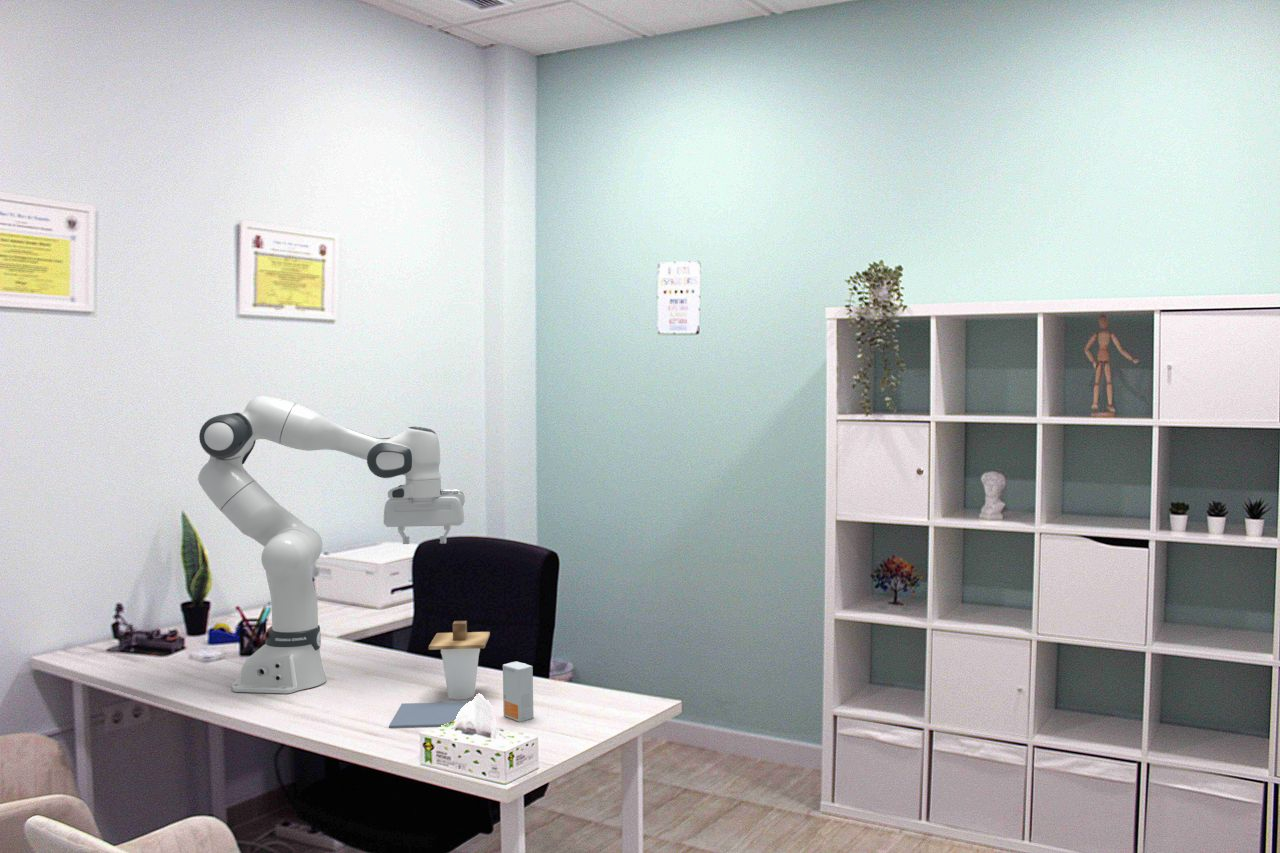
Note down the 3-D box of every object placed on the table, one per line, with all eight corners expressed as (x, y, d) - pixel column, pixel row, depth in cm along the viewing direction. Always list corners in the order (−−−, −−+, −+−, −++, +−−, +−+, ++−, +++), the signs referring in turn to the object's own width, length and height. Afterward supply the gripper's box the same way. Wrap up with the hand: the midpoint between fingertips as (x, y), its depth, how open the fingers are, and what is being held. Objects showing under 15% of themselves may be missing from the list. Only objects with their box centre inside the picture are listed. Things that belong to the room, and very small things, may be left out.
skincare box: (502, 716, 242) (501, 664, 242) (517, 712, 245) (516, 660, 245) (519, 722, 238) (518, 669, 237) (534, 718, 241) (533, 665, 240)
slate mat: (388, 727, 235) (388, 725, 235) (401, 705, 251) (401, 703, 251) (471, 725, 236) (471, 723, 236) (479, 703, 252) (479, 701, 252)
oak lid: (428, 649, 252) (428, 629, 251) (436, 636, 265) (436, 616, 264) (484, 648, 252) (484, 628, 252) (489, 634, 265) (489, 615, 265)
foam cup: (433, 698, 257) (432, 644, 256) (457, 687, 265) (456, 635, 265) (465, 703, 253) (464, 648, 252) (488, 692, 261) (487, 639, 260)
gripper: (465, 487, 279) (466, 540, 279) (386, 489, 278) (387, 542, 278) (462, 490, 272) (463, 544, 273) (381, 491, 272) (382, 546, 272)
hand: (424, 543), depth 276 cm, fingers open, 8 cm apart
